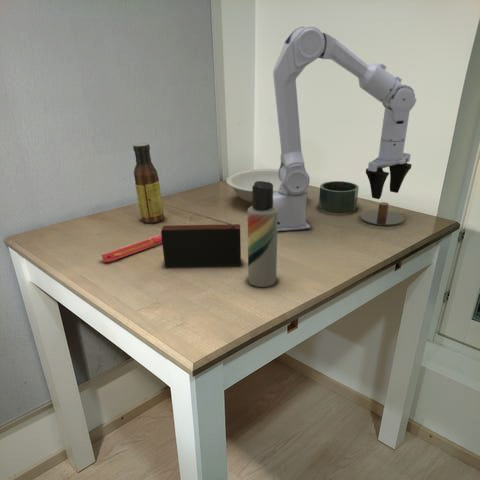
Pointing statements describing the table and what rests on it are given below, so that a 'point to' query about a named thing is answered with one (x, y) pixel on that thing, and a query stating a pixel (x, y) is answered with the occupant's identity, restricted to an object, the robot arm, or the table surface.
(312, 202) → the table surface
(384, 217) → the lid
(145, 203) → the sauce bottle
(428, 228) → the table surface
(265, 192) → the lotion bottle
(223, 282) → the table surface
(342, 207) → the pot
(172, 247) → the radio
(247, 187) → the soup bowl
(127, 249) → the long red bar
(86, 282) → the table surface
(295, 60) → the robot arm
